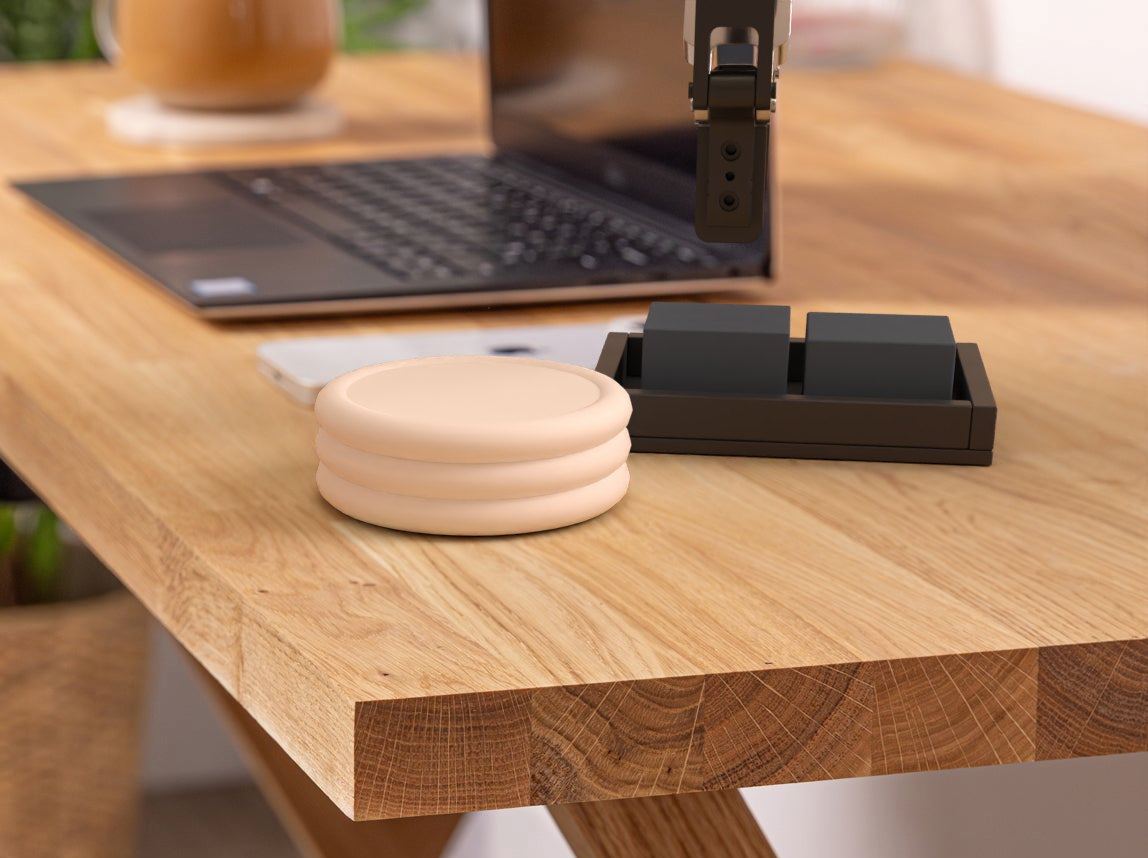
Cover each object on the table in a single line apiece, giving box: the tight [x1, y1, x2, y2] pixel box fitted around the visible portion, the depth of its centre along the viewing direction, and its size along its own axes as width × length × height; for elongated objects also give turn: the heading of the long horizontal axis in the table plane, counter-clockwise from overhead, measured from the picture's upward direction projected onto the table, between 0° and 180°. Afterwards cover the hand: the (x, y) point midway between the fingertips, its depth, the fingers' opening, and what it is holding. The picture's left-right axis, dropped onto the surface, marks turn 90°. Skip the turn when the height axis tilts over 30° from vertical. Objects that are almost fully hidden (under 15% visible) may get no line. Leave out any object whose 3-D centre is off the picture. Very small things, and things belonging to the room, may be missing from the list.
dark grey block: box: [641, 301, 792, 394], centre depth 80 cm, size 5×5×3 cm
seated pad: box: [802, 311, 957, 400], centre depth 79 cm, size 5×5×3 cm
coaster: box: [313, 354, 632, 536], centre depth 72 cm, size 10×10×4 cm
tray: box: [594, 331, 998, 466], centre depth 80 cm, size 14×10×2 cm
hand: (732, 219), depth 78 cm, fingers open, 8 cm apart
